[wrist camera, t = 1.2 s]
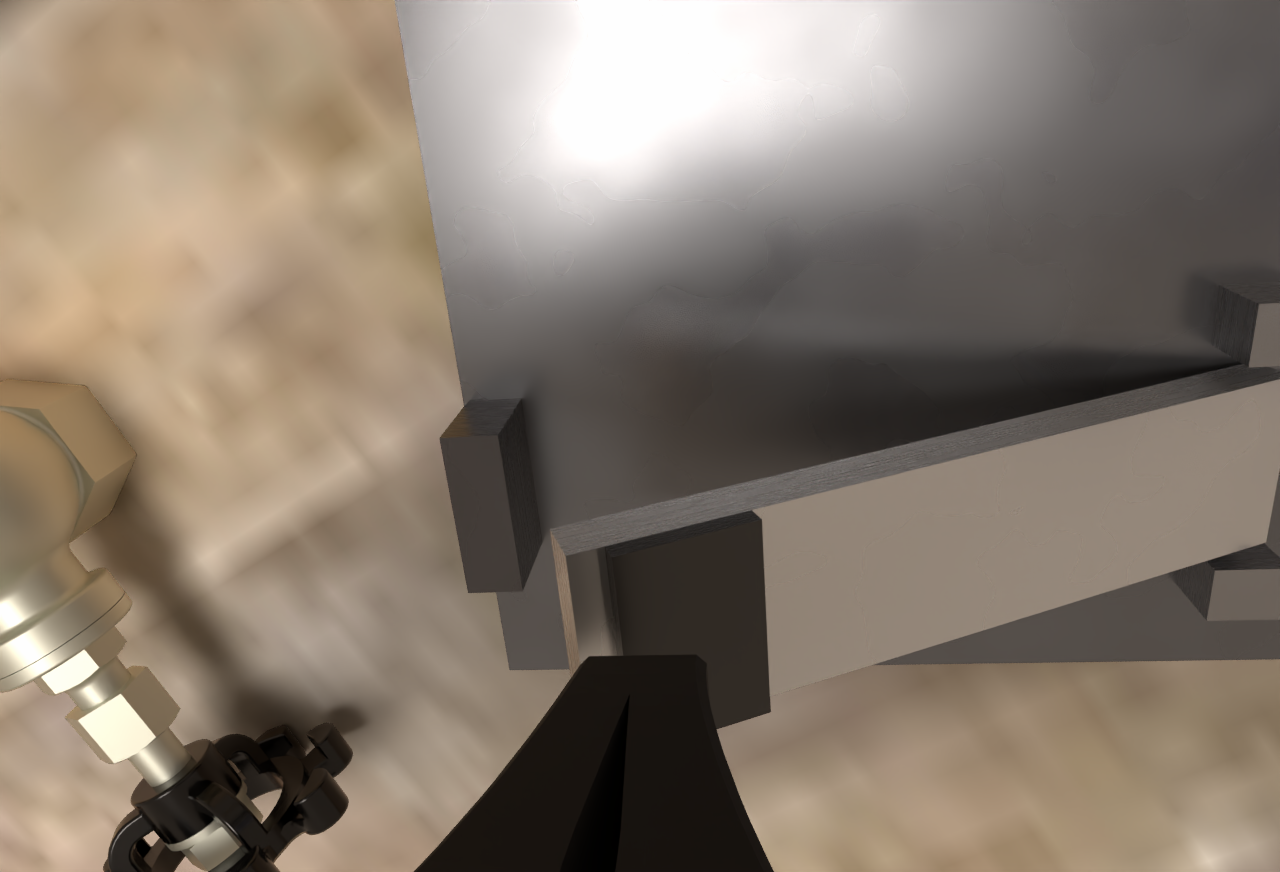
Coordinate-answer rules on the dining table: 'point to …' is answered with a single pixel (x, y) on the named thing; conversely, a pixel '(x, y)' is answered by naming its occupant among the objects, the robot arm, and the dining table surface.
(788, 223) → the grey flat block
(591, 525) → the steel strap
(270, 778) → the valve
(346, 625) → the dining table surface
